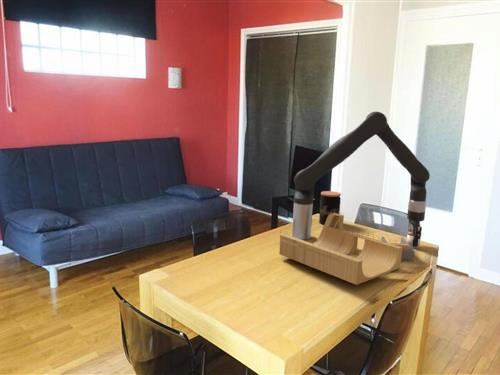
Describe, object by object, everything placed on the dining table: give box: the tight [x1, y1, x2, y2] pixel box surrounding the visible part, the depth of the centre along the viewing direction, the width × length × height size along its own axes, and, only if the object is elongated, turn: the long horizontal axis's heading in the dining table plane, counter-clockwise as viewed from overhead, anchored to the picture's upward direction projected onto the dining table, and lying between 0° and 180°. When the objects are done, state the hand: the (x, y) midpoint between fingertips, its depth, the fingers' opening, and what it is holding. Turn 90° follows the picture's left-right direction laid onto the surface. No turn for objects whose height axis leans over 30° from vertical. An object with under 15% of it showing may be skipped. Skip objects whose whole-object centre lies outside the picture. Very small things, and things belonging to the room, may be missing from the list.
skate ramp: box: [278, 211, 403, 286], centre depth 180 cm, size 40×35×16 cm
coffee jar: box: [318, 190, 342, 226], centre depth 235 cm, size 11×11×18 cm
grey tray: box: [380, 236, 415, 262], centre depth 193 cm, size 10×19×4 cm, turn 174°
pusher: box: [390, 242, 410, 250], centre depth 187 cm, size 7×2×5 cm, turn 84°
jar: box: [406, 230, 422, 250], centre depth 203 cm, size 6×6×7 cm
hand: (413, 244), depth 203 cm, fingers closed on jar, 6 cm apart
